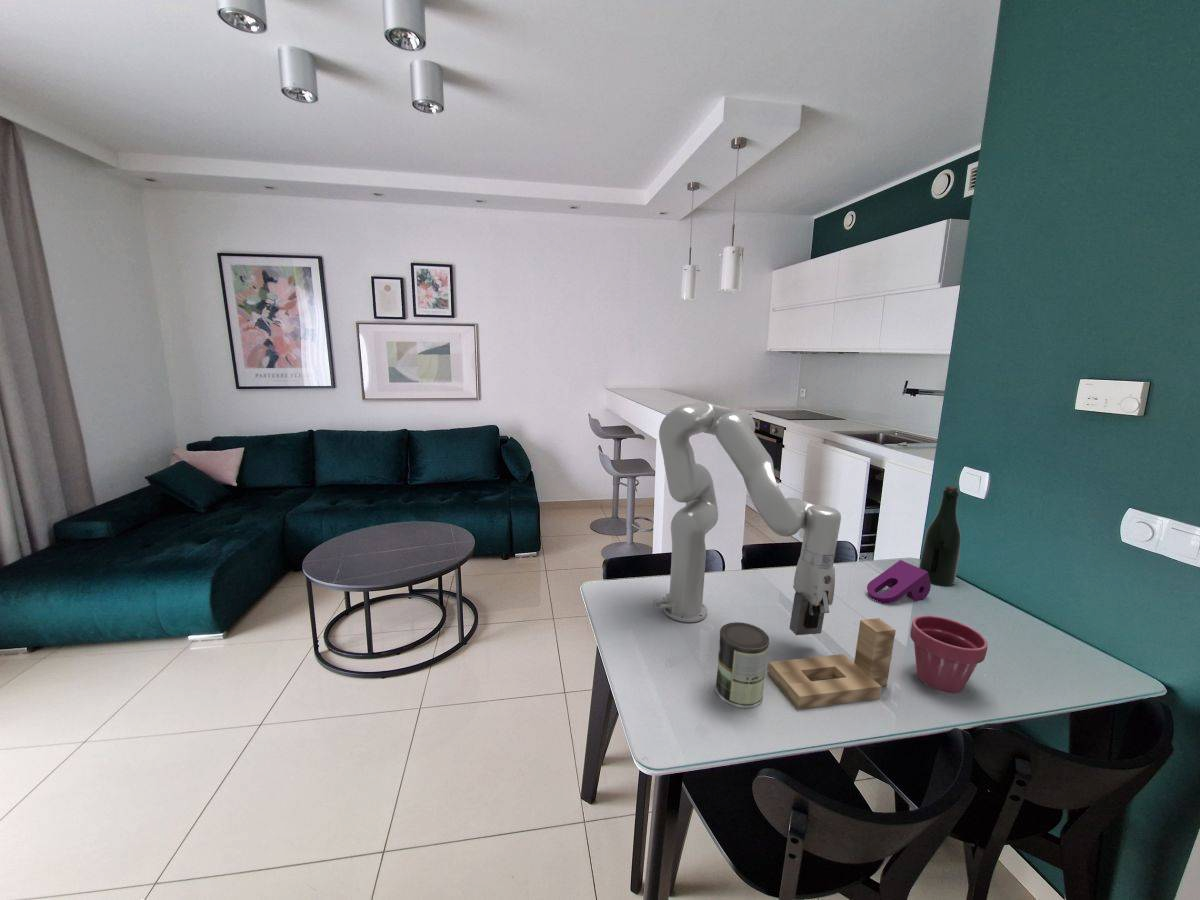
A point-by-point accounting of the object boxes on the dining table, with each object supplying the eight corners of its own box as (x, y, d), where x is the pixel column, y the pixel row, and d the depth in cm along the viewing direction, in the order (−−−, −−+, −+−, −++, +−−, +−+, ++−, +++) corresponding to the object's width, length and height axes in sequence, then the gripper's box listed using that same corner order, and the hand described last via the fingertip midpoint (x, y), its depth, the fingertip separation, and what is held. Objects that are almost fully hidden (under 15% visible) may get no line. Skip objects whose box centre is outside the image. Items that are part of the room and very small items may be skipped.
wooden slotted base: (798, 709, 104) (805, 649, 101) (767, 673, 116) (773, 619, 113) (898, 695, 109) (908, 638, 107) (860, 662, 121) (868, 610, 118)
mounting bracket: (891, 623, 151) (932, 592, 155) (886, 602, 148) (928, 571, 152) (865, 608, 159) (905, 579, 163) (859, 588, 157) (900, 559, 161)
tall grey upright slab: (796, 635, 123) (802, 598, 121) (789, 628, 126) (794, 592, 124) (820, 633, 124) (827, 597, 122) (813, 626, 127) (819, 591, 125)
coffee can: (706, 693, 108) (711, 635, 105) (727, 671, 116) (732, 616, 113) (752, 716, 102) (758, 655, 99) (770, 691, 110) (776, 633, 107)
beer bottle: (953, 578, 170) (969, 486, 164) (955, 589, 161) (973, 493, 155) (917, 570, 176) (932, 481, 169) (917, 581, 167) (933, 487, 161)
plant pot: (983, 682, 115) (993, 632, 112) (970, 711, 105) (981, 657, 103) (913, 654, 125) (921, 608, 122) (896, 678, 115) (904, 628, 113)
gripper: (853, 570, 114) (840, 641, 117) (810, 542, 129) (800, 605, 133) (825, 571, 112) (813, 643, 116) (784, 543, 128) (775, 607, 131)
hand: (806, 622), depth 124 cm, fingers closed on tall grey upright slab, 3 cm apart
